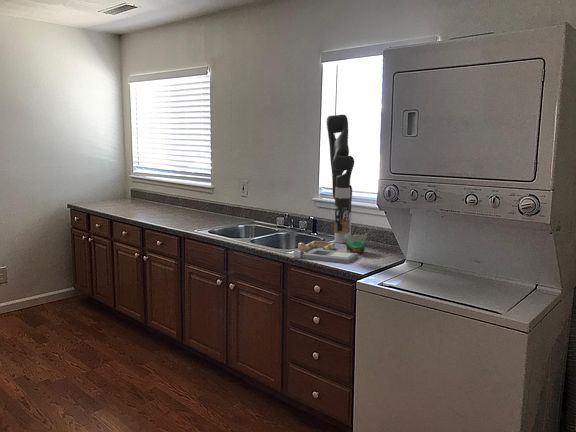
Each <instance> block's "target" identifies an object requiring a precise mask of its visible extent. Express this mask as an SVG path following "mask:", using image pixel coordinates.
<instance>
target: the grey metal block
mask: <svg viewBox="0 0 576 432" xmlns="http://www.w3.org/2000/svg"><path fill="white" fill-rule="evenodd" d="M301 258H302V255H301V250H298V249H294V250H293V259H301Z"/></svg>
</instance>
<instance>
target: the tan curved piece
mask: <svg viewBox="0 0 576 432" xmlns="http://www.w3.org/2000/svg"><path fill="white" fill-rule="evenodd" d="M335 244H336V242H331V241H322V240H313V241H311V242H309V243H307V244H304V252H306V251H307V252H308V251H310V250H312V249H314V248H315V247H317V248H318V247H319V248H322V249H324V250H334V249H335Z"/></svg>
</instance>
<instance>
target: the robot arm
mask: <svg viewBox="0 0 576 432" xmlns="http://www.w3.org/2000/svg"><path fill="white" fill-rule="evenodd" d="M326 129H327V135H328V136H327V137H328V141H329V156H330V160H329V161H330V169H331V175H332V176H331V177H332V181H331V182H332V184H331V185H332V198H333V199H334V206H335V207H334V208H335V209H334V221H335V223H337V231H339V232H341V231H342V221H343V220H350V232H348V233H347V235H351V234H352V233H351V231H352V228H351V227H352V198H353V187H352V185H351V178H352V177H351V176H352V174H353V172H352V171H353V169H354V165H355V159H354V157H353V156H352V155H349V154H350V148H349V119H348V116H347V115H345V114H336V115H329V116H327V117H326ZM338 133H339V135H338V136H337V138H336V136H335V134H338ZM345 171H346V172H345ZM344 237H345V234H340V233H334V243H339V244H346V238H344Z"/></svg>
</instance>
